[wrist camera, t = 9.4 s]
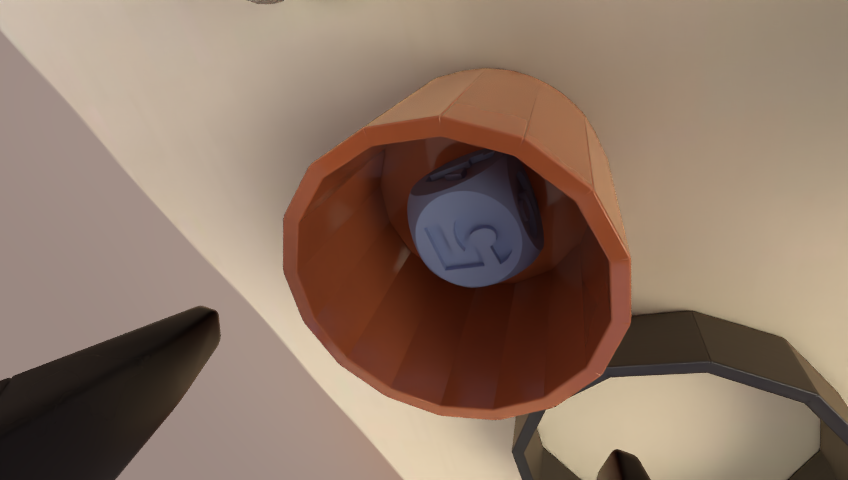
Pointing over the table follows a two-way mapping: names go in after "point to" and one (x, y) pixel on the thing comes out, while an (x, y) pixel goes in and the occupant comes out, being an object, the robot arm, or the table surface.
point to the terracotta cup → (446, 302)
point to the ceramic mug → (266, 1)
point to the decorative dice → (476, 219)
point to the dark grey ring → (719, 355)
